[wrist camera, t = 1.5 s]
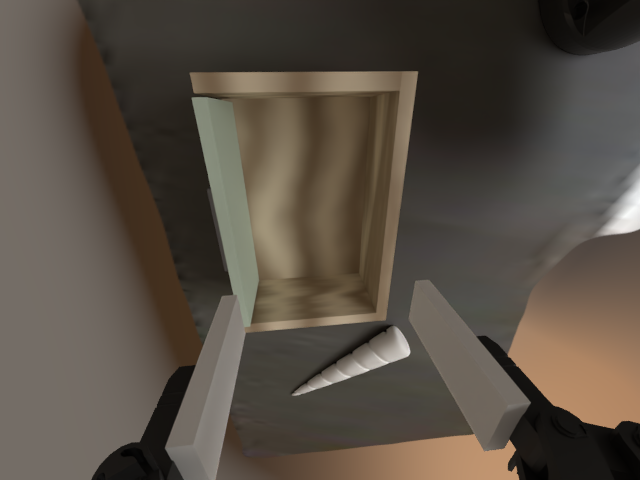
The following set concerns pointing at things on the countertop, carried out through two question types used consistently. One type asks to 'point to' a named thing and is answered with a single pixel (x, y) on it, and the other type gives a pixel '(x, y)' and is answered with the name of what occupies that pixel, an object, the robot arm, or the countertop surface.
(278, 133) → the box
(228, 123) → the pale green panel
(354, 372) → the unicorn horn
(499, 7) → the countertop surface
